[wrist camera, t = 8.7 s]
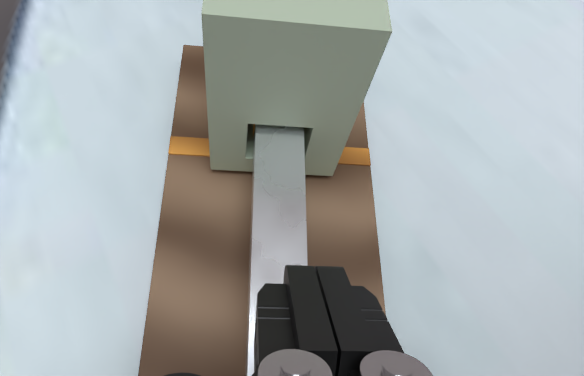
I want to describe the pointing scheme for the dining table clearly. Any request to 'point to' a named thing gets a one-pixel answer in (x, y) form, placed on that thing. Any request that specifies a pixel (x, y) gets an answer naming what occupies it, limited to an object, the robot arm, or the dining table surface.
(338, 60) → the upright sage green block
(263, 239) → the grey long bar
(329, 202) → the wooden slider rail stand
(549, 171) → the dining table surface
